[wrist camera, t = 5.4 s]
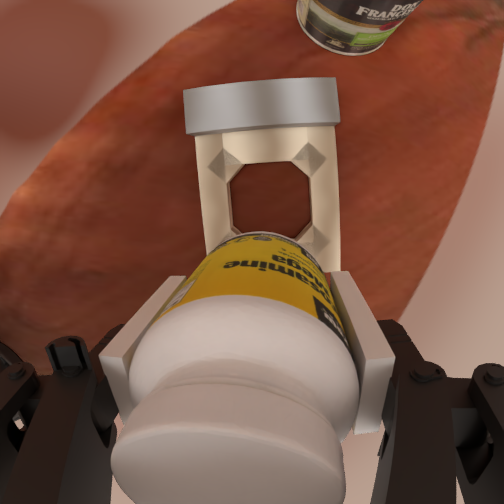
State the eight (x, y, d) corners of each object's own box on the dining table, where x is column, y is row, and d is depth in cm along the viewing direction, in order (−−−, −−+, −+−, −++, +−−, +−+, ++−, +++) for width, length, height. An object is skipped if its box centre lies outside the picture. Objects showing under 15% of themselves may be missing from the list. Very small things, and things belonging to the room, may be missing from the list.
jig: (213, 271, 34) (203, 289, 30) (197, 100, 30) (183, 90, 25) (336, 265, 33) (346, 282, 28) (327, 90, 29) (335, 77, 24)
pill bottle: (352, 277, 15) (450, 469, 4) (275, 366, 16) (263, 565, 6) (242, 200, 14) (138, 307, 4) (174, 303, 16) (56, 476, 5)
